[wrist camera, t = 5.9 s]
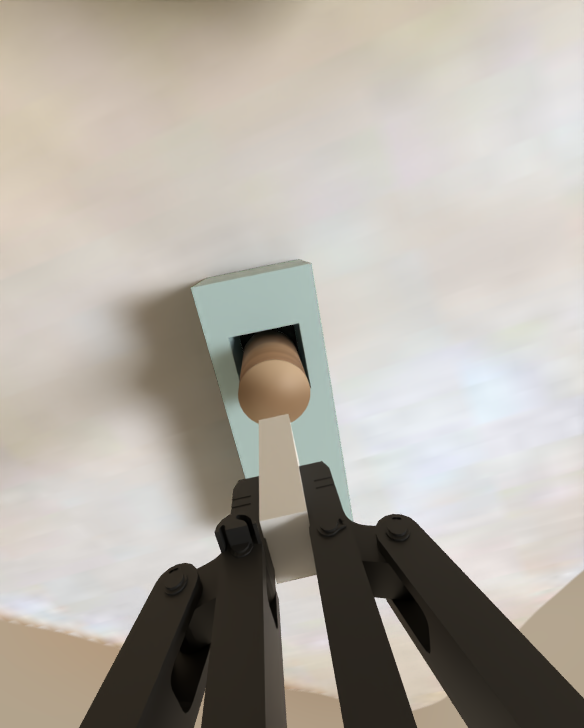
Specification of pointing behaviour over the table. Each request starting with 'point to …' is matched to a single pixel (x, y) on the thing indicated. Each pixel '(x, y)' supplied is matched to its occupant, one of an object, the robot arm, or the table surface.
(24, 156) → the table surface
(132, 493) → the table surface
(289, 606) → the table surface
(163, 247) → the table surface
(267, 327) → the socket board
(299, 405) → the peg
